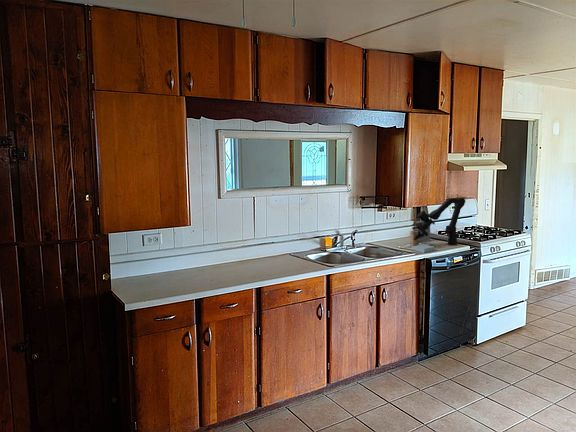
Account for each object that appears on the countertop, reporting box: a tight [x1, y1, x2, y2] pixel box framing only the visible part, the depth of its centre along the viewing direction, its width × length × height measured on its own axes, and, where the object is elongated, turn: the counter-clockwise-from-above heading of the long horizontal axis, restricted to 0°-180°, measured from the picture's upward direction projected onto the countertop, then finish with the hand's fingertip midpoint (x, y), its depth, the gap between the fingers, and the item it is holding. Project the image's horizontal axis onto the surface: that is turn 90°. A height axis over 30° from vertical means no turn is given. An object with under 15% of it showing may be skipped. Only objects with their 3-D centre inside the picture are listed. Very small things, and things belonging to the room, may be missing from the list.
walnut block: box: [409, 230, 420, 249], centre depth 378 cm, size 5×5×13 cm
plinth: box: [412, 244, 436, 253], centre depth 367 cm, size 12×12×3 cm
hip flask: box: [415, 218, 431, 243], centre depth 399 cm, size 16×4×20 cm, turn 116°
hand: (413, 239), depth 378 cm, fingers closed on walnut block, 5 cm apart
